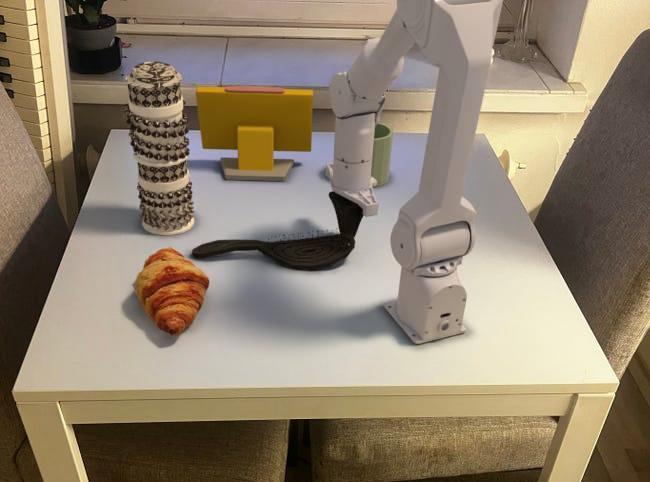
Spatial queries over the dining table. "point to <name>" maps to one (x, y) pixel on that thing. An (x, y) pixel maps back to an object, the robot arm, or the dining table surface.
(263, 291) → the dining table surface
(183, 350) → the dining table surface
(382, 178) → the coffee cup
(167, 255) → the croissant
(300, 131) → the yellow framed monitor
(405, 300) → the robot arm
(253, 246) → the hairbrush
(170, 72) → the decorative candle
